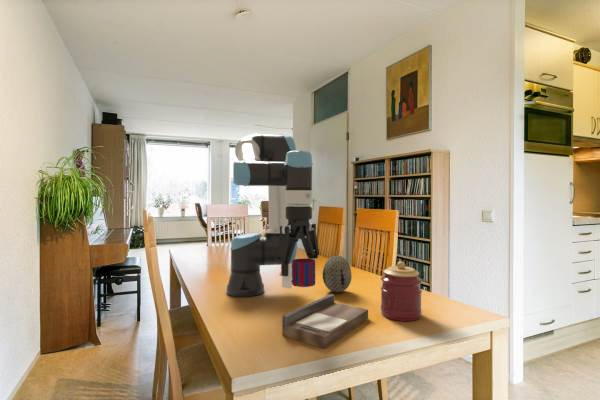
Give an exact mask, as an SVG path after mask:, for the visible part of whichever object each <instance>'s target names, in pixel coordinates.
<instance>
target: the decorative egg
mask: <svg viewBox="0 0 600 400" xmlns="http://www.w3.org/2000/svg"><path fill="white" fill-rule="evenodd" d="M322 281H323V283H324V285H325V287H326V288H327V290H329V291H331V292H333V293H342V292H344V291H346V290H347V289H348V288H349V286H350V285H351V282H352V269H351V267H350V264H349V262H348V260H347V259H346V258H344V256H341V255H339V254H337V255H336V254H334V255H332V256H330V257H329V258H328V259H327V260H326V262H324V265H323V269H322Z"/></svg>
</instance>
